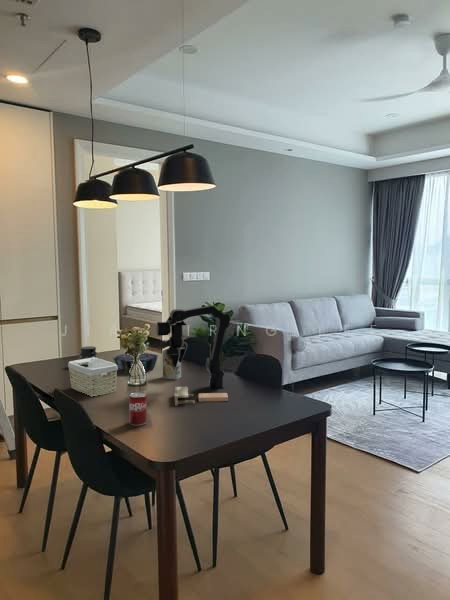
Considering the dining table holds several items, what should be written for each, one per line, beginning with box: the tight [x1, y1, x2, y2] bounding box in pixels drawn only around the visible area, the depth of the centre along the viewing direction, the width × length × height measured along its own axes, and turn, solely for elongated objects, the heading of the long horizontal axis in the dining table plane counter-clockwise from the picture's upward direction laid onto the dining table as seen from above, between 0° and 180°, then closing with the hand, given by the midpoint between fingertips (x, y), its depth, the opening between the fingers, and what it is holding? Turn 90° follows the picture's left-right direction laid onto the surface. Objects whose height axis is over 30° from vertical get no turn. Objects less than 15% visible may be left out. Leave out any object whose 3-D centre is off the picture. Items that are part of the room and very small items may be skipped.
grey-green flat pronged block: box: [173, 386, 196, 406], centre depth 221 cm, size 9×15×4 cm, turn 7°
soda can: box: [128, 392, 148, 427], centre depth 190 cm, size 7×7×12 cm
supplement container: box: [79, 345, 98, 367], centre depth 291 cm, size 10×10×12 cm
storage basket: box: [67, 357, 119, 398], centre depth 237 cm, size 24×16×15 cm
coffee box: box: [162, 348, 182, 381], centre depth 262 cm, size 9×6×16 cm
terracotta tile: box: [198, 392, 229, 403], centre depth 223 cm, size 14×7×2 cm, turn 94°
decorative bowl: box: [112, 352, 159, 374], centre depth 283 cm, size 26×28×10 cm
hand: (177, 364), depth 236 cm, fingers open, 9 cm apart
